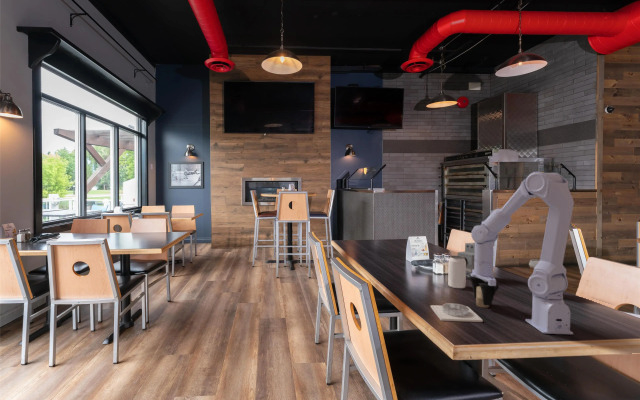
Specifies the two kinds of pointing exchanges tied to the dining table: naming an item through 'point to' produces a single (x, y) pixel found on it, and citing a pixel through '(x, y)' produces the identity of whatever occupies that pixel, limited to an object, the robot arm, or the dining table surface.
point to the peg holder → (455, 313)
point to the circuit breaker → (468, 257)
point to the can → (457, 272)
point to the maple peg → (480, 298)
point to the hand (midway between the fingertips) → (482, 301)
